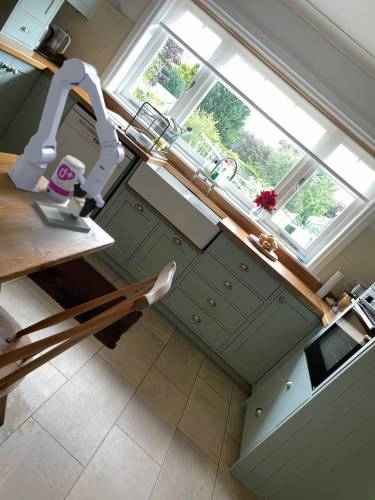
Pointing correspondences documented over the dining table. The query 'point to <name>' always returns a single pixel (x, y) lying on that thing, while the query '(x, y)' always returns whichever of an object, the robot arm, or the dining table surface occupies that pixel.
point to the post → (74, 217)
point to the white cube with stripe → (76, 205)
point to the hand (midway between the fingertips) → (77, 210)
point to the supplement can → (65, 179)
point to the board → (60, 217)
